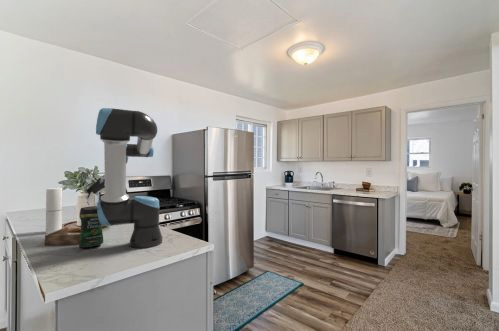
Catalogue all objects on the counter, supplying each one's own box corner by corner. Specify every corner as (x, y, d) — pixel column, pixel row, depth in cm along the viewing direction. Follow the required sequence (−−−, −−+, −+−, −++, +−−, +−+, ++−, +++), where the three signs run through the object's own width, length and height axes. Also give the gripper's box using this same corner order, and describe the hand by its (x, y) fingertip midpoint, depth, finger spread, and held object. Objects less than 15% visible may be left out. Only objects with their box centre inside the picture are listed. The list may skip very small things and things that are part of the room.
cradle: (96, 235, 133) (96, 226, 133) (80, 244, 118) (80, 234, 118) (65, 236, 131) (65, 227, 131) (44, 245, 116) (45, 235, 116)
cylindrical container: (52, 234, 135) (53, 189, 135) (42, 233, 136) (42, 189, 136) (64, 230, 142) (65, 188, 142) (54, 230, 143) (55, 187, 143)
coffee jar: (81, 248, 108) (80, 207, 110) (77, 247, 114) (77, 207, 116) (105, 244, 115) (104, 205, 117) (101, 242, 121) (100, 205, 123)
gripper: (138, 177, 144) (129, 207, 129) (94, 177, 141) (79, 207, 126) (136, 169, 139) (126, 198, 124) (89, 168, 136) (73, 199, 121)
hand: (102, 203), depth 125 cm, fingers open, 13 cm apart
